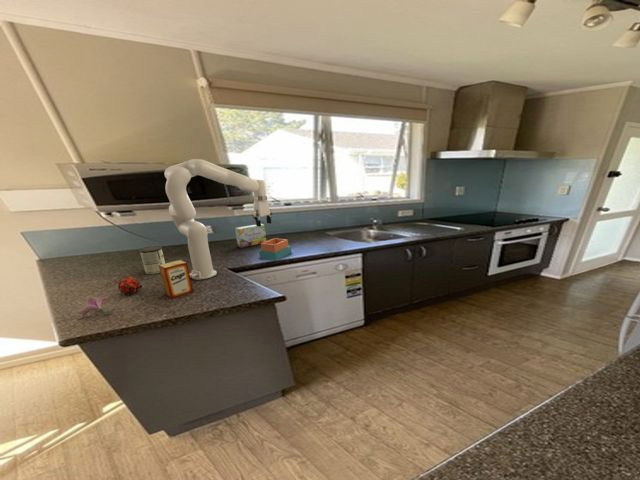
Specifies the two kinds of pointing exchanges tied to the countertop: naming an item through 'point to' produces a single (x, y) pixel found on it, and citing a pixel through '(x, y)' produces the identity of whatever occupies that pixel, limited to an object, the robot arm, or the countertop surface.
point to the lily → (93, 304)
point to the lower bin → (275, 253)
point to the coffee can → (152, 259)
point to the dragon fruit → (129, 285)
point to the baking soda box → (176, 278)
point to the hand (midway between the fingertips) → (264, 224)
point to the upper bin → (274, 245)
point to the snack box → (250, 235)
